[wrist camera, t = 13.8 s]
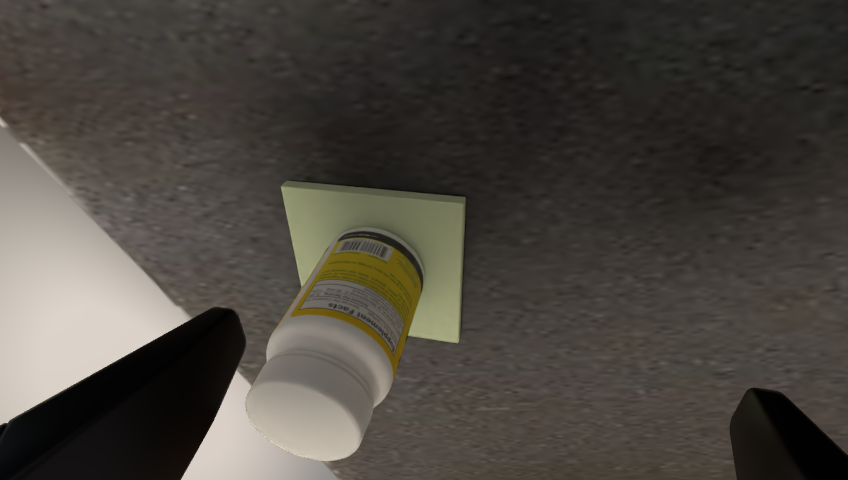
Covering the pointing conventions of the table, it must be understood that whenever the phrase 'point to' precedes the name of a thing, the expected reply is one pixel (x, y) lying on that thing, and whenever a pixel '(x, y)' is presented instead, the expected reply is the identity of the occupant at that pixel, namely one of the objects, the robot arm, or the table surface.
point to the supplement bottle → (338, 346)
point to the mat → (400, 215)
